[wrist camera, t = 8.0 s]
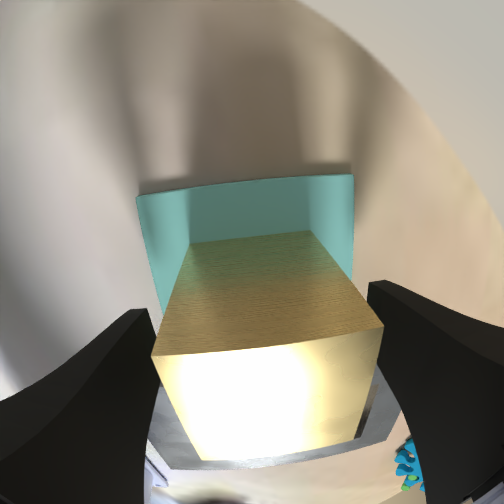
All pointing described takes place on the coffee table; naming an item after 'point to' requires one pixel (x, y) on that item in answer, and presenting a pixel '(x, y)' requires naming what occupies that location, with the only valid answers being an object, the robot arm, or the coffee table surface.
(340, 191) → the teal mat
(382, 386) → the rail plate
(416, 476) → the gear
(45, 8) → the coffee table surface
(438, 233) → the coffee table surface
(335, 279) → the brass block
